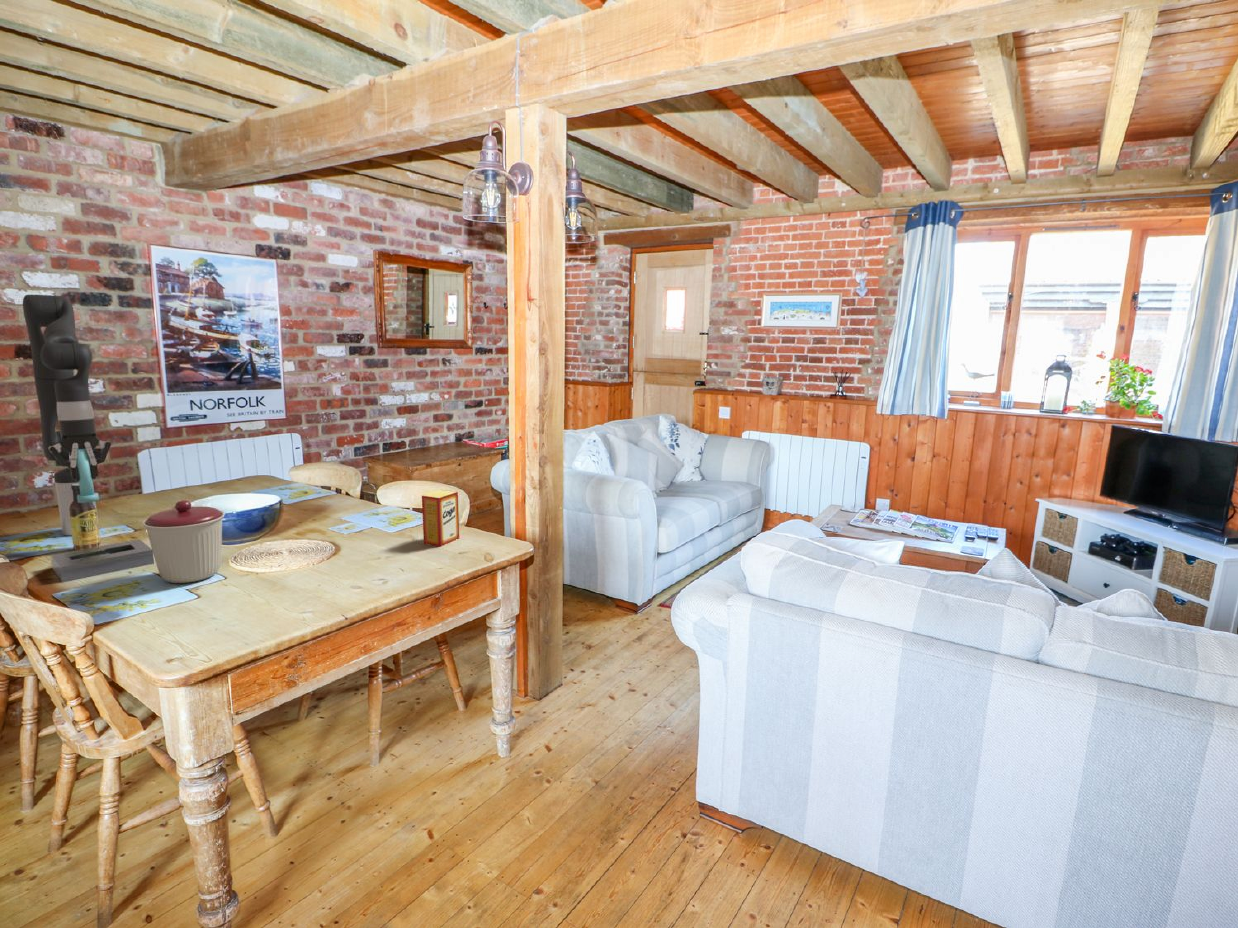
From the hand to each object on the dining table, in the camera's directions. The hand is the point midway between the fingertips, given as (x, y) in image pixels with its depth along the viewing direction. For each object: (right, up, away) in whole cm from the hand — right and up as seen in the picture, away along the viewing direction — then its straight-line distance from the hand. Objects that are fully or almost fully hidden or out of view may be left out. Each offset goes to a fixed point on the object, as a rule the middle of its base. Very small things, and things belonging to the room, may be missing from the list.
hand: (85, 479), depth 179 cm
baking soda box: (+91, -21, +28) cm, 98 cm away
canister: (+33, -26, -5) cm, 43 cm away
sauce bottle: (-12, -21, +15) cm, 29 cm away
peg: (0, -6, +1) cm, 6 cm away
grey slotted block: (+4, -24, +1) cm, 25 cm away
